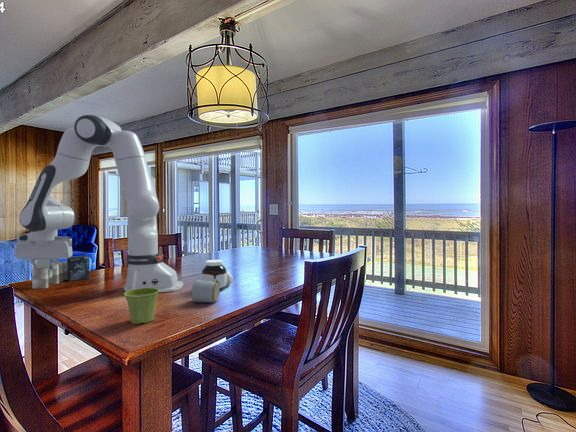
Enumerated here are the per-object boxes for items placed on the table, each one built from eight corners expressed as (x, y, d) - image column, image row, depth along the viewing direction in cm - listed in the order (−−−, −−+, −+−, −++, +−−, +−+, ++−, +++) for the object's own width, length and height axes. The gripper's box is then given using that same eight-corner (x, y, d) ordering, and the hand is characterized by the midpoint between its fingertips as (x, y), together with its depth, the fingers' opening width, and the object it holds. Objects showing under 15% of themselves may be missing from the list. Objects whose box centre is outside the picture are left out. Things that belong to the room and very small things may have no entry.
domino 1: (52, 276, 132) (52, 257, 132) (49, 277, 131) (49, 258, 130) (39, 276, 131) (39, 257, 131) (36, 277, 130) (36, 258, 130)
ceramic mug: (214, 305, 107) (214, 283, 107) (190, 304, 108) (191, 282, 108) (222, 297, 118) (223, 276, 118) (201, 296, 118) (201, 276, 118)
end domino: (68, 278, 144) (68, 261, 144) (66, 279, 143) (66, 262, 142) (56, 279, 143) (56, 261, 143) (54, 279, 142) (54, 262, 142)
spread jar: (199, 291, 124) (199, 262, 124) (206, 284, 135) (206, 257, 135) (229, 291, 124) (229, 262, 124) (234, 284, 136) (234, 258, 135)
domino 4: (64, 280, 140) (63, 262, 140) (62, 281, 139) (61, 263, 139) (51, 281, 140) (51, 263, 139) (49, 281, 138) (49, 263, 138)
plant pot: (116, 324, 90) (116, 294, 89) (142, 313, 98) (142, 286, 98) (141, 328, 86) (141, 297, 86) (166, 317, 95) (166, 289, 95)
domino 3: (59, 282, 137) (58, 264, 136) (57, 283, 135) (56, 265, 135) (46, 283, 136) (46, 264, 136) (44, 283, 134) (43, 265, 134)
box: (69, 281, 138) (69, 258, 138) (66, 279, 142) (66, 256, 142) (90, 279, 144) (89, 256, 143) (87, 277, 148) (86, 254, 148)
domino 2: (48, 287, 129) (48, 267, 129) (46, 288, 127) (45, 268, 127) (35, 287, 128) (34, 268, 128) (32, 288, 127) (32, 268, 127)
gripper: (75, 235, 135) (75, 267, 136) (22, 235, 132) (22, 268, 133) (67, 237, 129) (67, 270, 130) (12, 236, 126) (12, 270, 126)
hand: (44, 269), depth 131 cm, fingers closed on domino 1, 5 cm apart
